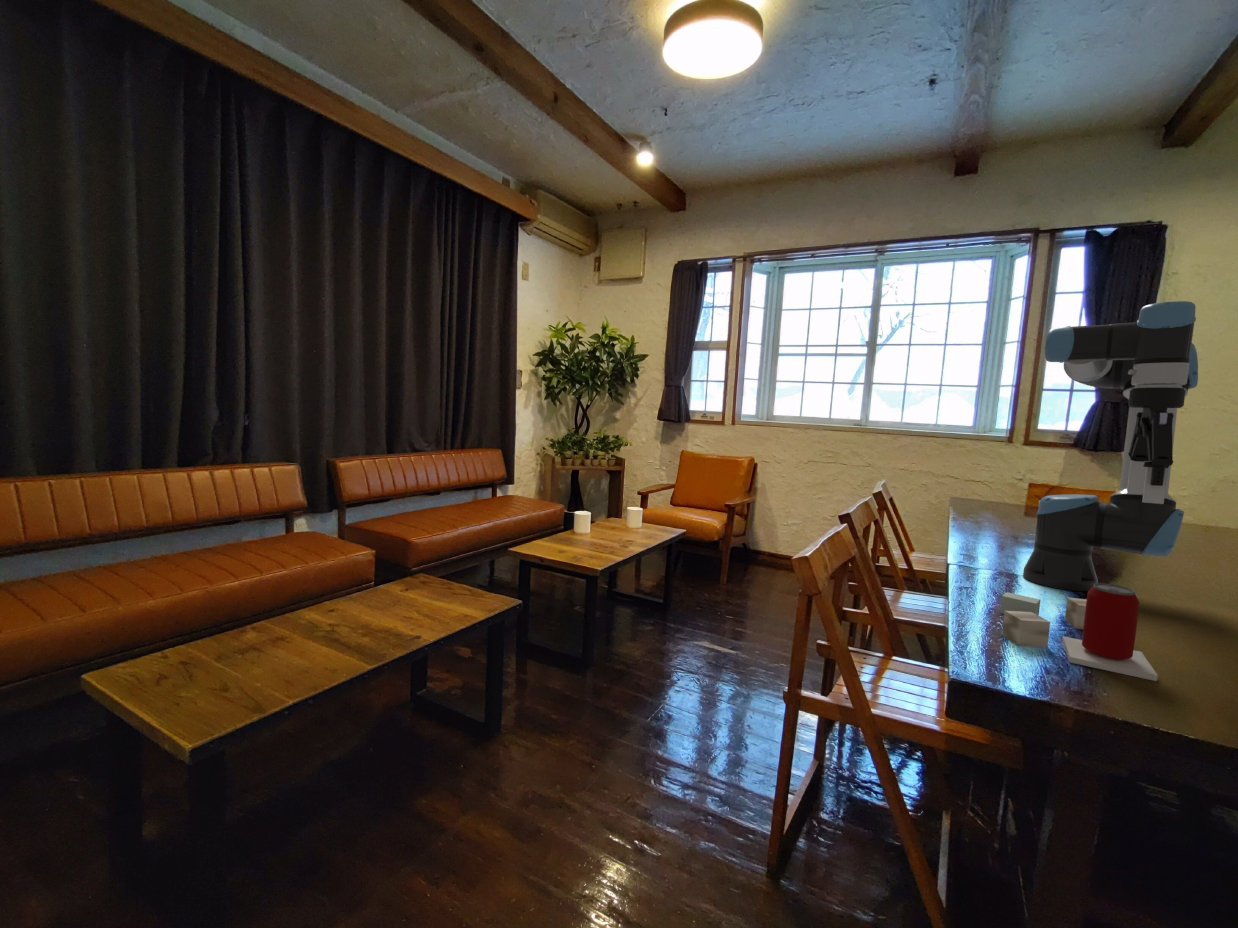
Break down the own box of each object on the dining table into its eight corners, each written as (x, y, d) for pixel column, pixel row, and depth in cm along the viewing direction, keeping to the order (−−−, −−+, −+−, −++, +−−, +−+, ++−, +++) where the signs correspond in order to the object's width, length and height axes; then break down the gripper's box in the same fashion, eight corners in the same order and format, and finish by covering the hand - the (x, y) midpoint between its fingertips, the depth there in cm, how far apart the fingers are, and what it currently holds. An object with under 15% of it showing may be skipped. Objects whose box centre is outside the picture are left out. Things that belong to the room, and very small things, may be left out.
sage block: (1005, 609, 120) (1006, 592, 120) (1038, 617, 116) (1040, 599, 115) (1000, 613, 118) (1001, 595, 117) (1034, 622, 113) (1036, 603, 113)
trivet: (1061, 641, 103) (1062, 636, 103) (1140, 657, 97) (1141, 651, 97) (1069, 662, 94) (1070, 656, 94) (1157, 681, 88) (1157, 675, 88)
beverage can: (1133, 655, 95) (1141, 588, 94) (1131, 666, 91) (1140, 597, 89) (1083, 642, 100) (1090, 579, 99) (1078, 653, 95) (1086, 587, 94)
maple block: (1002, 635, 105) (1004, 610, 105) (1029, 637, 105) (1031, 612, 104) (1018, 646, 100) (1021, 620, 100) (1047, 648, 100) (1050, 621, 99)
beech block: (1064, 620, 115) (1067, 597, 114) (1093, 623, 113) (1096, 600, 113) (1076, 628, 110) (1078, 604, 109) (1106, 632, 108) (1109, 608, 108)
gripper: (1117, 389, 115) (1106, 488, 117) (1146, 384, 94) (1131, 505, 96) (1167, 388, 110) (1154, 491, 113) (1208, 384, 90) (1191, 510, 92)
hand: (1143, 498), depth 105 cm, fingers open, 13 cm apart
